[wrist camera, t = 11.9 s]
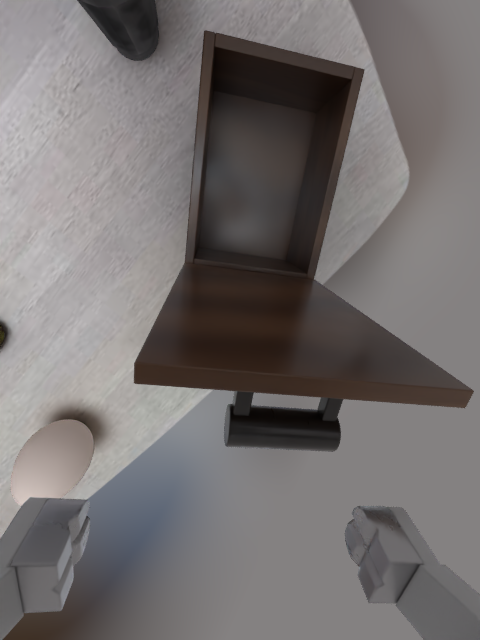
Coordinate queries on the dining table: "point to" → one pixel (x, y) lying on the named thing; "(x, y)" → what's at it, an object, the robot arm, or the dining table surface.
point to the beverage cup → (126, 24)
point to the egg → (52, 461)
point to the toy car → (1, 335)
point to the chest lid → (283, 355)
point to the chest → (266, 155)
